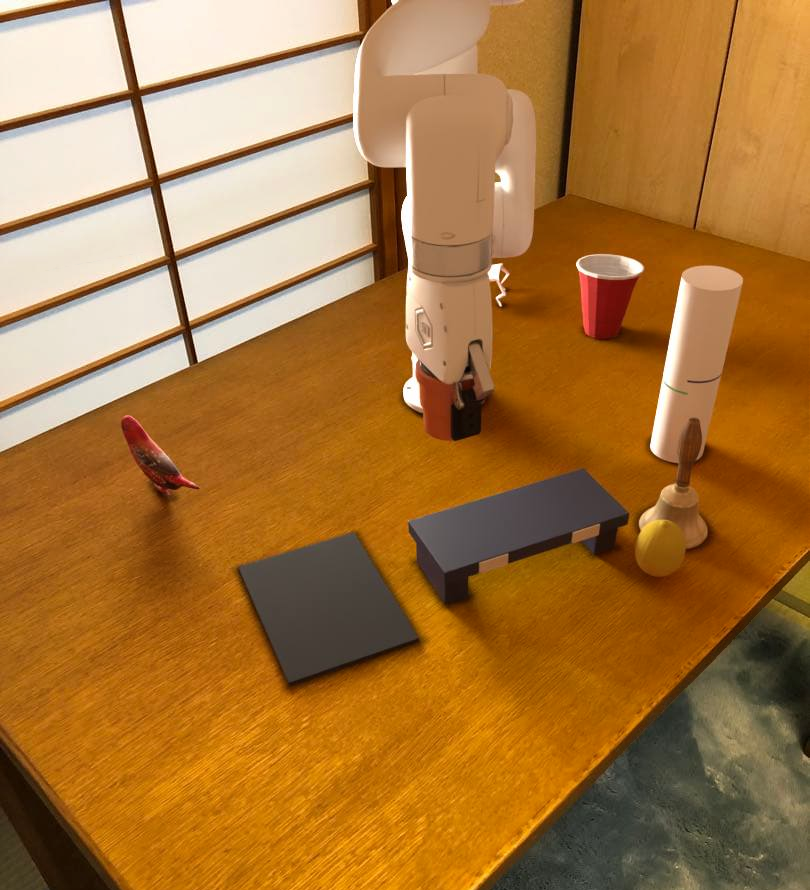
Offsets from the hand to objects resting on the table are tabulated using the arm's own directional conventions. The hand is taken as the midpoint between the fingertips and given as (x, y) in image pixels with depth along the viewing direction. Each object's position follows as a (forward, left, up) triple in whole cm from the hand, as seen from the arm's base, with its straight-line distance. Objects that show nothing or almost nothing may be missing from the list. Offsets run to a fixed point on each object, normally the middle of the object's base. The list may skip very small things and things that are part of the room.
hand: (450, 418), depth 90 cm
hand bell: (+5, +29, -22) cm, 36 cm away
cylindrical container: (-9, +40, -22) cm, 46 cm away
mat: (-1, -15, -22) cm, 27 cm away
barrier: (+1, +9, -22) cm, 23 cm away
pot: (0, 0, -1) cm, 1 cm away
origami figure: (-63, +39, -22) cm, 77 cm away
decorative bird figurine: (-29, -27, -22) cm, 46 cm away
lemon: (+11, +22, -22) cm, 33 cm away
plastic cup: (-43, +50, -22) cm, 69 cm away
